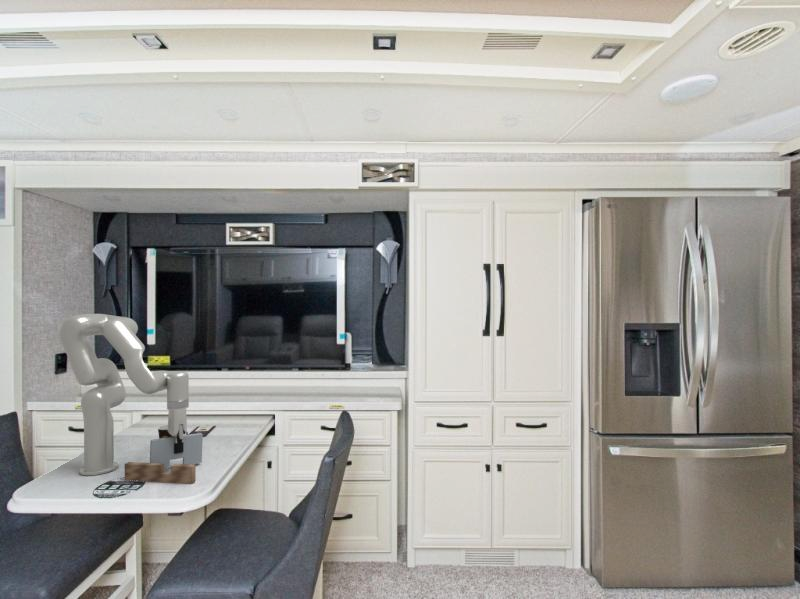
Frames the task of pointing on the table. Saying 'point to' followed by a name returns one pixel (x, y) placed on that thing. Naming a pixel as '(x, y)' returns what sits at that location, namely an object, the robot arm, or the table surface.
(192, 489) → the table surface
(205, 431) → the chocolate bar
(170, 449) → the grey panel
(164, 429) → the coffee mug
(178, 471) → the walnut board
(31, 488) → the table surface
